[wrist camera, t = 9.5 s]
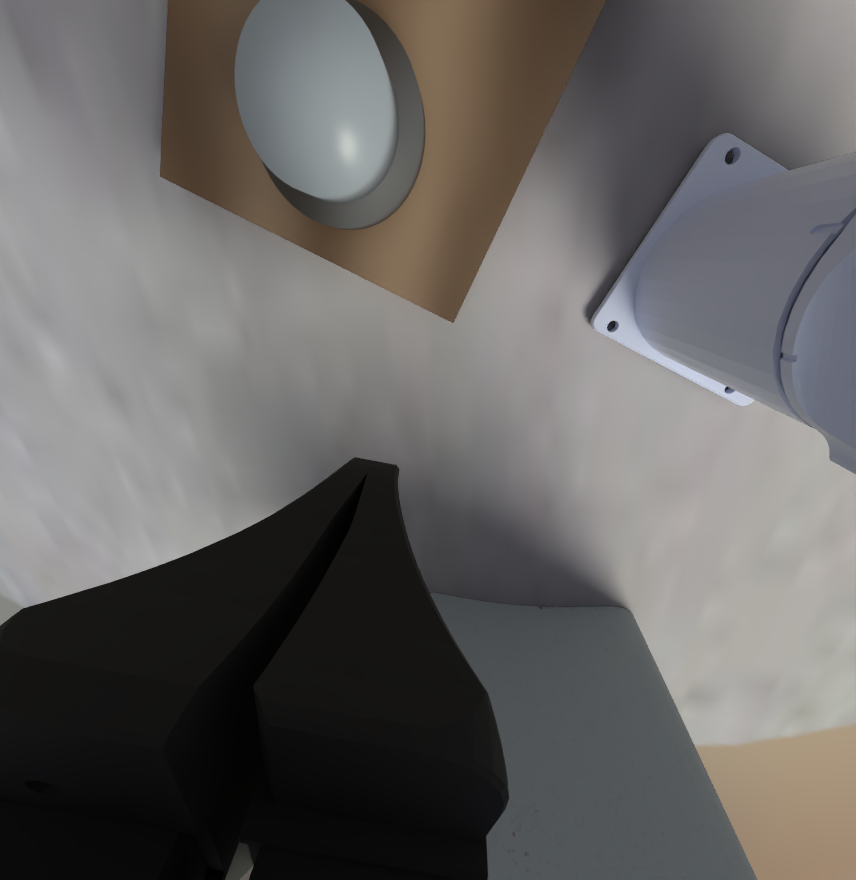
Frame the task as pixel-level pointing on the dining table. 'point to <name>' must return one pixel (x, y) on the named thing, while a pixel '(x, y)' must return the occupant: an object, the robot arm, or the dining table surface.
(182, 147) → the button board
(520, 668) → the grey upright box
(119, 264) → the dining table surface
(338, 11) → the slate button
